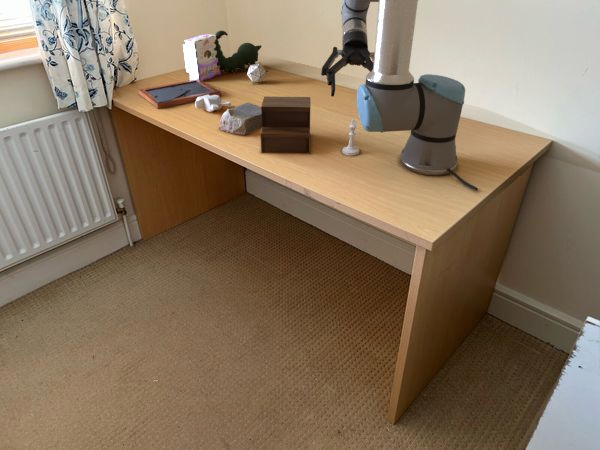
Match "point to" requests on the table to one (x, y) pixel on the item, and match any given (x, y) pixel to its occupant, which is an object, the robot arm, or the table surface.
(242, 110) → the geological specimen
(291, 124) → the step shelf
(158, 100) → the picture frame
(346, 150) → the chess piece
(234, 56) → the toy figurine
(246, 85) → the table surface
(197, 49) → the candy box
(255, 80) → the game die
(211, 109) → the bunny figurine
